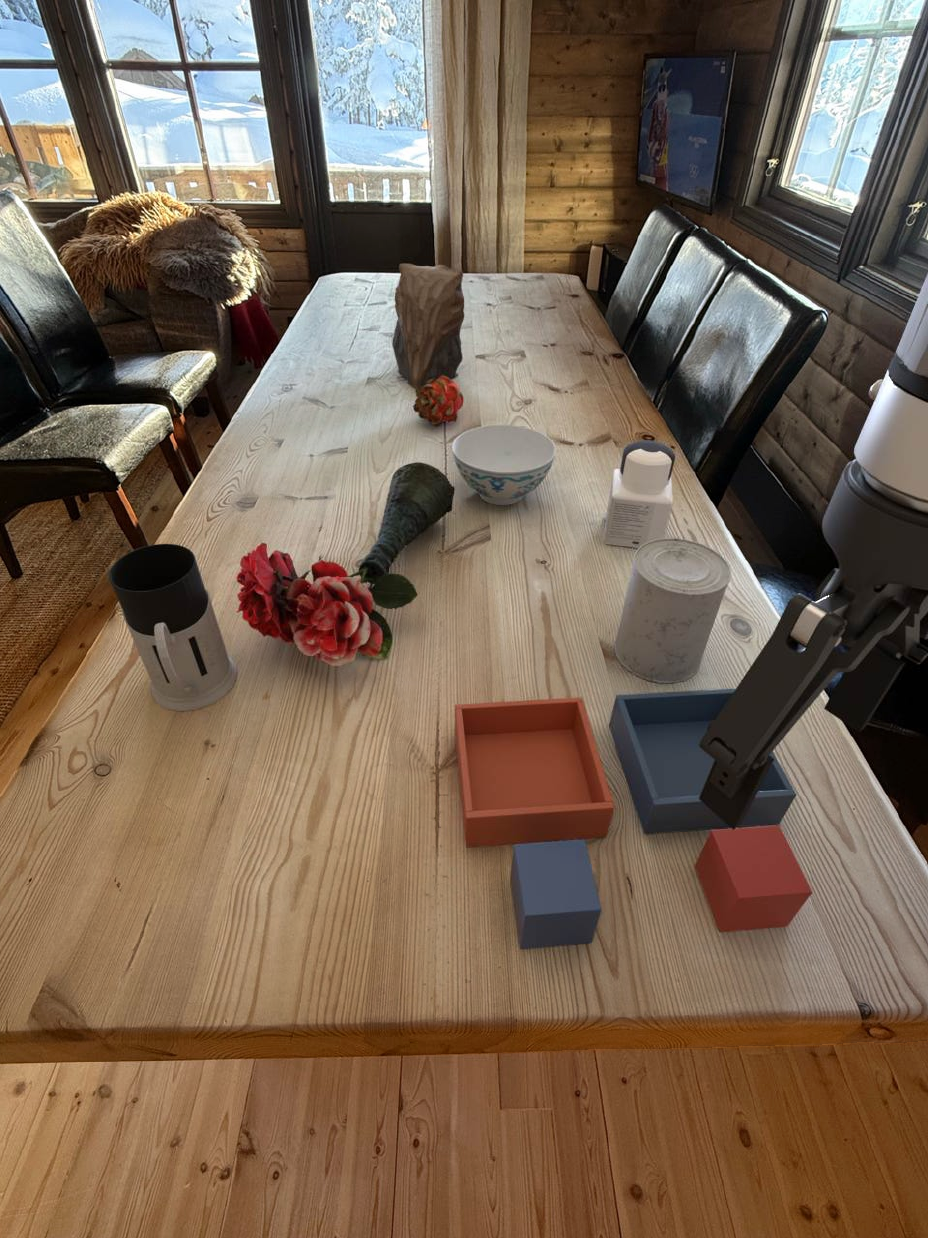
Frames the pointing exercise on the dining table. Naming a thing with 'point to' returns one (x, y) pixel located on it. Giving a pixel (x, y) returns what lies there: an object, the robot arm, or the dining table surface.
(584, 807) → the red bin
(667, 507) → the container
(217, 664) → the glass holder
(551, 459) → the chinaware
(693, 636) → the grey tin can
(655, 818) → the blue bin
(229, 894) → the dining table surface
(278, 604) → the flower vase
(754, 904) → the red block
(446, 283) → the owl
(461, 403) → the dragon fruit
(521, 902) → the blue block
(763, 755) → the robot arm
